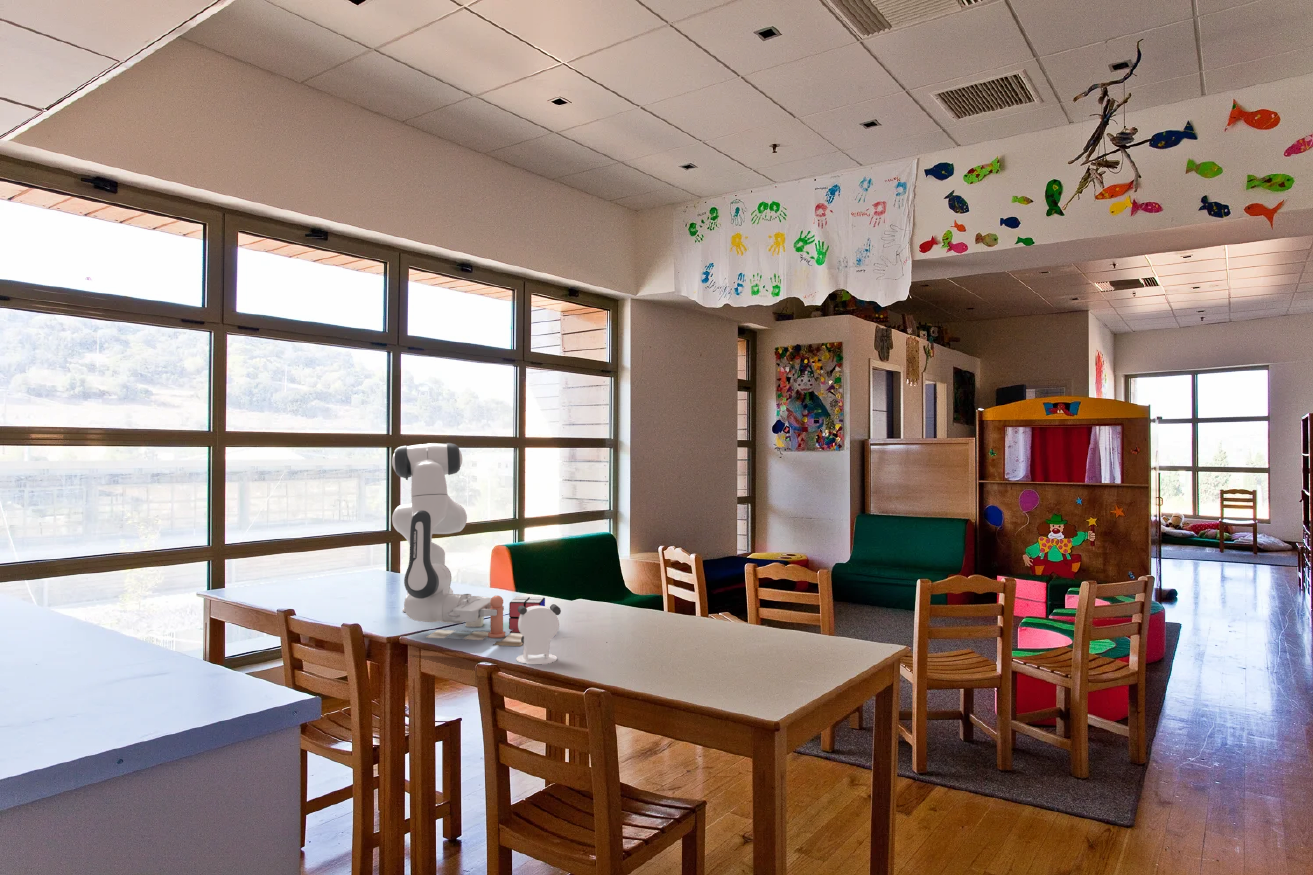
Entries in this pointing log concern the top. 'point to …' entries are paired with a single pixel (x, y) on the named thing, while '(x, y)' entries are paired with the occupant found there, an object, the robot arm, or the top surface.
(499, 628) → the dildo
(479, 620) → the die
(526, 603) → the puzzle cube
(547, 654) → the panda figurine
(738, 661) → the top surface
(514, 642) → the track
